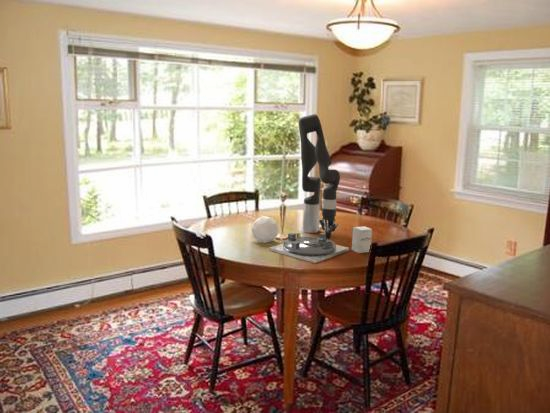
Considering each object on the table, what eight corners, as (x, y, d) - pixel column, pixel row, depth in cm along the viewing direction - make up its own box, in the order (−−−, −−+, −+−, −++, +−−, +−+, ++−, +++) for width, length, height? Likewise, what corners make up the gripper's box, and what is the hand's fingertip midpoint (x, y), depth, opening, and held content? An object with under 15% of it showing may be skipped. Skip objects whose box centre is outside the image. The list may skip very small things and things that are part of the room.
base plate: (304, 239, 286) (304, 230, 285) (349, 250, 267) (349, 240, 266) (269, 250, 264) (269, 240, 263) (315, 263, 245) (315, 252, 244)
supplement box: (359, 253, 262) (360, 230, 260) (351, 249, 269) (352, 226, 266) (371, 252, 265) (372, 229, 263) (363, 248, 272) (364, 225, 269)
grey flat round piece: (304, 237, 284) (304, 228, 283) (346, 247, 267) (346, 237, 266) (272, 247, 264) (272, 237, 263) (315, 258, 246) (315, 248, 245)
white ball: (267, 248, 285) (279, 225, 289) (272, 246, 271) (285, 222, 274) (245, 236, 284) (258, 213, 287) (249, 233, 269) (262, 209, 273)
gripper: (315, 205, 271) (314, 237, 274) (332, 210, 260) (331, 242, 264) (326, 204, 275) (325, 235, 279) (342, 208, 265) (341, 240, 268)
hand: (328, 238), depth 271 cm, fingers closed
